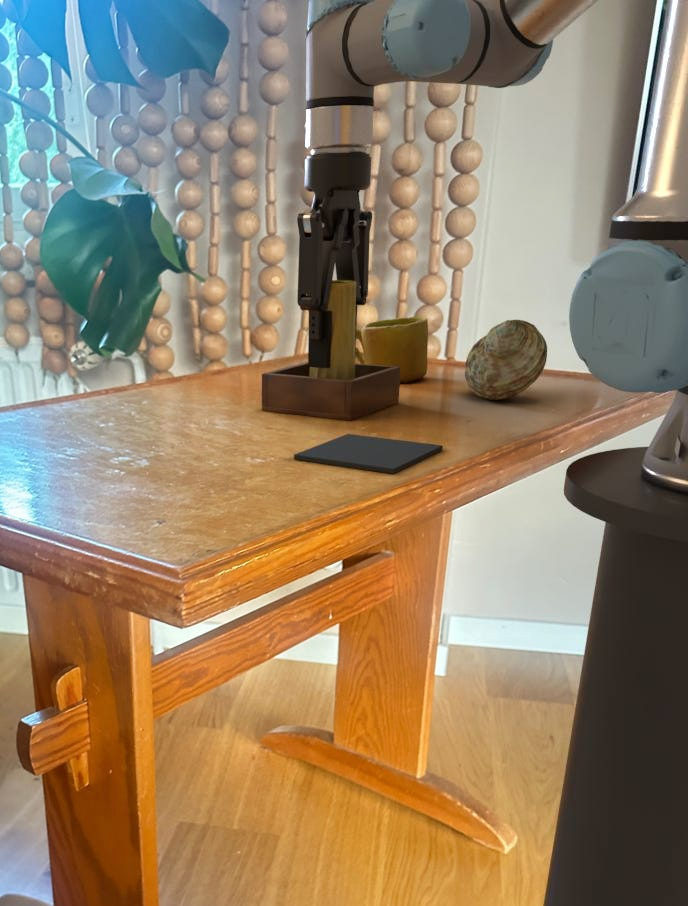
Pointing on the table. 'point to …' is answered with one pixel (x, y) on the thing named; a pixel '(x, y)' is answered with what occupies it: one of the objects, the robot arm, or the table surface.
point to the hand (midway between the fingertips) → (331, 363)
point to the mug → (396, 345)
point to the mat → (369, 453)
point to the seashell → (506, 360)
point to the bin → (330, 391)
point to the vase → (341, 332)
